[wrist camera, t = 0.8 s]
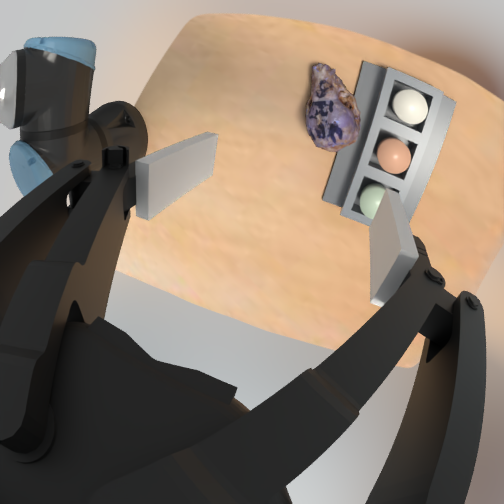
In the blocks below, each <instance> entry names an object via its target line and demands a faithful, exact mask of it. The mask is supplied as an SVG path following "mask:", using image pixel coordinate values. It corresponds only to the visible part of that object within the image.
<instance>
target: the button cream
mask: <svg viewBox="0 0 504 504" xmlns="http://www.w3.org/2000/svg"><path fill="white" fill-rule="evenodd" d="M392 109H393V111H394V113H395V115H396V116H397V117H398V118H399V119H401V120H402V121H404V122H406V123H409V124H418V123H420V122H422V121H423V120H424V119H425V118H426V116H427V113H428V106H427V102H426V100H425V99H424V97H423V96H422V95H421V94H420V93H418V92H417V91H414V90H401V91H398V92H397V93H396V94H395V95H394V97H393V99H392Z"/></svg>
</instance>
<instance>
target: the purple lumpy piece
mask: <svg viewBox="0 0 504 504" xmlns="http://www.w3.org/2000/svg"><path fill="white" fill-rule="evenodd" d="M312 68H313V70H312V76H311V79H312V86H311V97H310V98H309V100H308V102H307V106H306V126H307V131H308V133H309V136H311V138H312V140H313V142H314V144H315V145H316V147H320V148H322V149H324V150H327V151H330V152H337V151H339V150H341V149H343V148H344V147H346V146H350V145H351V144H353V143H355V142H356V140H357V138H358V136H359V130H361V126H360V121H361V119H360V114H361V112H360V110H359V109H358V107H357V103H356V99H355V97H354V96H353V95H352V94H351V93H350V92H348V91H347V89H346V86H345V85H344V84H343V82H342V80H341V79H340V78H339V77H338V76H337V75H336V74H335V69H332V70H331V69H330V67H329V66H328V65H326V64H324V65H323V64H320V63H318V64H317V65H315V66H313V67H312ZM311 102H312V106H311V107H310V104H311ZM350 106H351V107H352V108H351V109H350Z"/></svg>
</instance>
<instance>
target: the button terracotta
mask: <svg viewBox="0 0 504 504" xmlns="http://www.w3.org/2000/svg"><path fill="white" fill-rule="evenodd" d="M376 153H377V158H378V161H379V163H380V165H381V167H382V168H383V169H384V170H385V171H387V172H389V173H393V174H398V173H401V172H403V171H405V170H406V169H407V168H408V166H409V165H410V162H411V154H410V151H409V149H408V147H407V146H406V145H405V144H404V143H403V142H402V141H401V140H399V139H398V138H394V137H388V138H385V139H383V140H382V141H381V142H380V143H379V144H378V146H377V151H376Z"/></svg>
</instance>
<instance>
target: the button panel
mask: <svg viewBox="0 0 504 504" xmlns="http://www.w3.org/2000/svg"><path fill="white" fill-rule="evenodd" d="M401 90H414V91H417V92H418V93H420V94H421V95H422V96H423V97H424V99H425V100H426V102H427V106H428V113H427V116H426V118H425V119H424V120H423V121H422V122H420V123H418V124H409V123H406V122H404V121H402V120H401V119H399V118H398V117H397V116H396V115H395V113H394V111H393V109H392V99H393V97H394V95H395V94H396V93H397V92H398V91H401ZM443 93H444V92H442V91H440V90H438V89H437V88H435V87H433V86H431V85H428V84H426V83H424V82H422V81H420V80H418V79H416V78H414V77H411V76H409V75H407V74H404V73H402V72H400V71H397V70H395V69H392V68H390V67H387V68H386V69H385V68H382V67H380V66H377V65H374V64H371V63H368V62H365V61H363V65H362V69H361V73H360V77H359V81H358V84H357V88H356V92H355V95H354V97H355V99H356V103H357V107H358V109H359V110H360V112H361V114H360V119H361V121H360V126H361V130H359V136H358V138H357V140H356V142H355V143H353V144H351V145H350V146H346V147H344V148H343V149H341V150H339V151H338V153H337V156H336V159H335V163H334V166H333V169H332V172H331V175H330V178H329V181H328V184H327V187H326V190H325V193H324V196H323V199H322V200H323V201H326V202H329V203H331V204H334V205H337V206H339V207H341V213H340V215H341V216H344V217H347V218H349V219H352V220H355V221H357V222H360V223H362V224H365V225H367V226H370V225H371V223H372V221H373V219H370V218H368V217H366V216H365V215H364V214H363V212H362V211H361V208H360V193H361V191H362V189H363V188H364V187H365V186H367V185H369V184H372V183H377V184H381V185H383V186H384V187H385V188H388V189H390V190H392V191H395V192H397V193H398V194H399V196H400V199H401V202H402V205H403V207H404V210H405V213H406V216H407V219H408V222H410V220H411V218H412V216H413V214H414V212H415V210H416V208H417V205H418V203H419V201H420V199H421V197H422V194H423V192H424V190H425V187H426V185H427V183H428V180H429V178H430V176H431V173H432V171H433V168H434V166H435V163H436V161H437V158H438V155H439V153H440V150H441V147H442V145H443V142H444V139H445V136H446V133H447V130H448V127H449V124H450V121H451V118H452V115H453V112H454V108H455V105H456V102H455V101H453V100H452V99H450V98H448V97H446V96H444V95H443ZM351 108H352V107H351ZM388 137H394V138H398V139H399V140H401V141H402V142H403V143H404V144H405V145H406V146H407V147H408V149H409V151H410V154H411V162H410V165H409V166H408V168H407V169H406V170H405V171H403V172H401V173H398V174H393V173H389V172H387V171H385V170H384V169H383V168H382V167H381V165H380V163H379V161H378V158H377V153H376V151H377V146H378V144H379V143H380V142H381V141H382V140H383V139H385V138H388Z"/></svg>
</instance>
